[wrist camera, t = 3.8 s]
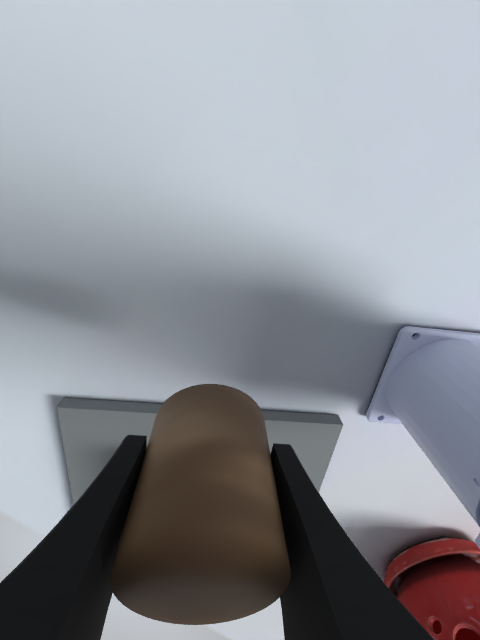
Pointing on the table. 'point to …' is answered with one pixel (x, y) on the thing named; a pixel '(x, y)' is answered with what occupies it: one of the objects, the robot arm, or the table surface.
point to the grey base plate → (138, 419)
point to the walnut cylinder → (203, 514)
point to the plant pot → (440, 586)
